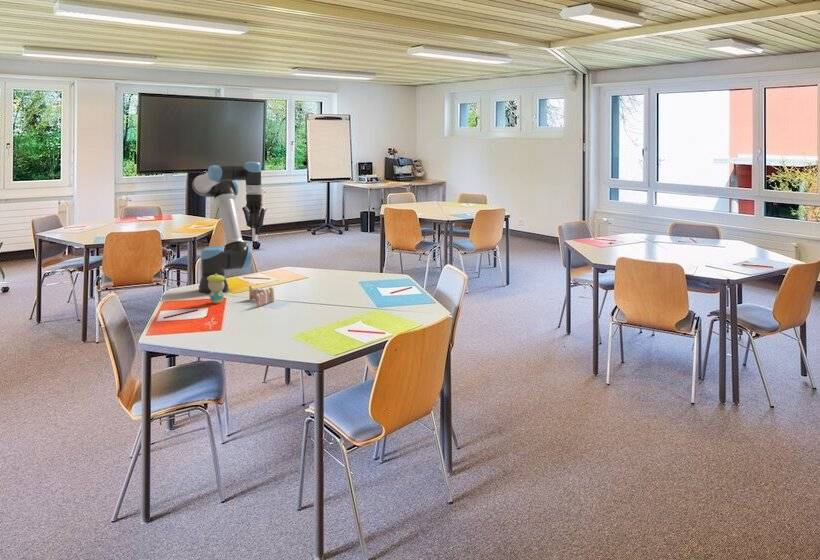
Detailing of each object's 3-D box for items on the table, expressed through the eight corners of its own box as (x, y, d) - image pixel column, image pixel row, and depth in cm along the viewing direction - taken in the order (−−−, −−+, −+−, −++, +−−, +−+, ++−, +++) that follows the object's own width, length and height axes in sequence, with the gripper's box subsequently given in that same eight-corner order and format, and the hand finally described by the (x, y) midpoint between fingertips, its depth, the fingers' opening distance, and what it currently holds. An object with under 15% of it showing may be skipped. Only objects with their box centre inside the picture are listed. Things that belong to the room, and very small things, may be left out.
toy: (217, 300, 332) (215, 271, 329) (229, 303, 327) (228, 273, 324) (204, 303, 326) (202, 273, 323) (216, 306, 321) (215, 275, 318)
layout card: (242, 305, 324) (242, 304, 324) (258, 299, 337) (258, 298, 337) (277, 309, 318) (277, 308, 317) (292, 303, 330) (292, 302, 330)
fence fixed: (275, 302, 331) (274, 287, 330) (272, 303, 329) (272, 288, 328) (251, 299, 336) (250, 284, 335) (248, 300, 334) (247, 285, 332)
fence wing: (269, 301, 329) (268, 289, 328) (270, 301, 329) (270, 290, 328) (256, 306, 320) (256, 294, 318) (258, 306, 319) (258, 294, 318)
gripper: (238, 193, 327) (239, 241, 332) (260, 194, 323) (262, 242, 328) (246, 192, 334) (248, 239, 339) (269, 193, 330) (270, 240, 334)
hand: (255, 240), depth 333 cm, fingers closed
